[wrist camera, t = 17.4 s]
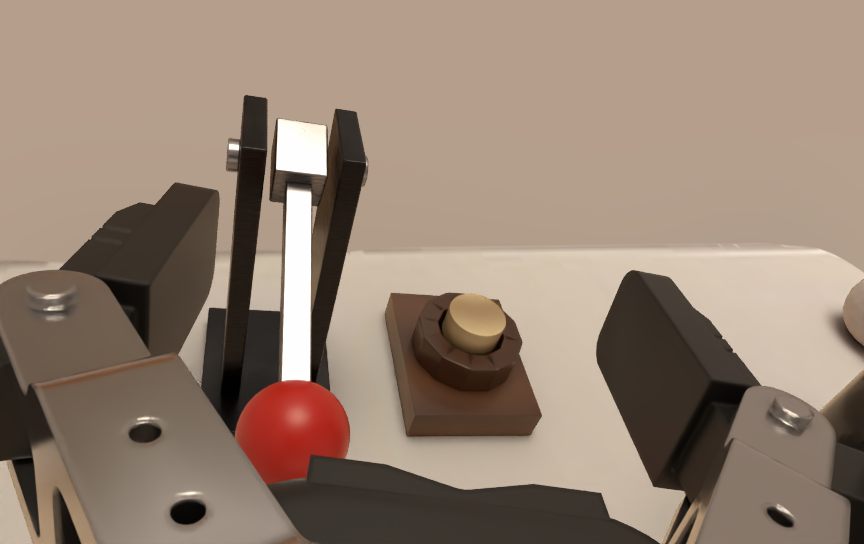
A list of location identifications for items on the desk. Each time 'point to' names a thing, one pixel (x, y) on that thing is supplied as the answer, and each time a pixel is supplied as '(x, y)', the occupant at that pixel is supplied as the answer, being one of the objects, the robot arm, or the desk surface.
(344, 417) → the switch lever
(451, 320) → the button
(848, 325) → the perfume bottle
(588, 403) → the desk surface
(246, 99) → the switch bracket
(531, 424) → the button block
